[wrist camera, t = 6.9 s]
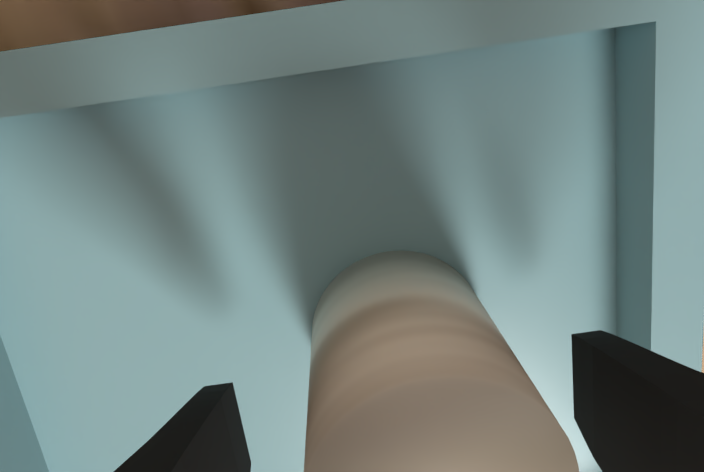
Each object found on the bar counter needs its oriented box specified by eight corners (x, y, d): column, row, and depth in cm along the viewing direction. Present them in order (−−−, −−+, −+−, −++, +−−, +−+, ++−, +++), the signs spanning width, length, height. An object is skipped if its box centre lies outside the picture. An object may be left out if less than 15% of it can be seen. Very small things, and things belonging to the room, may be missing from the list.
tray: (643, 522, 18) (691, 593, 16) (74, 600, 18) (35, 682, 16) (650, -36, 13) (720, -56, 11) (-121, 79, 13) (-218, 84, 11)
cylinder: (487, 394, 15) (582, 590, 10) (325, 416, 15) (323, 625, 10) (476, 239, 14) (577, 357, 8) (299, 263, 14) (280, 398, 8)
